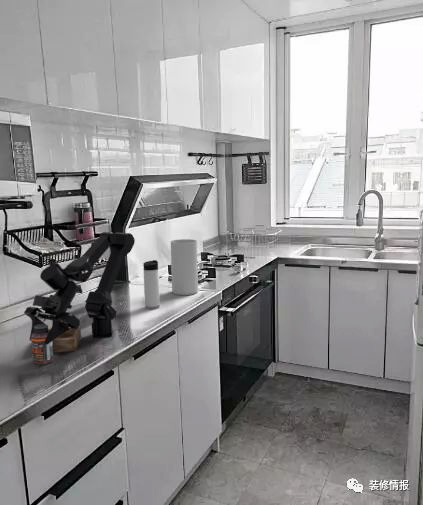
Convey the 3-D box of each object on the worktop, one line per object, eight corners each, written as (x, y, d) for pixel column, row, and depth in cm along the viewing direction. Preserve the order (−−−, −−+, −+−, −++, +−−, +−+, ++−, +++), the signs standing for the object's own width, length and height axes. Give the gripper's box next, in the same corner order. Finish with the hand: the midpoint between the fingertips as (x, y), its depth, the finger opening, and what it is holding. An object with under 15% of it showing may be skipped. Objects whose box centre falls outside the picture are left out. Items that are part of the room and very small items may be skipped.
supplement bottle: (29, 365, 138) (26, 328, 136) (39, 357, 144) (36, 322, 142) (47, 366, 137) (44, 329, 135) (57, 358, 143) (54, 323, 141)
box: (81, 337, 162) (80, 326, 161) (75, 350, 149) (74, 338, 149) (42, 339, 160) (41, 328, 159) (33, 353, 147) (32, 341, 147)
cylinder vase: (175, 289, 230) (173, 239, 226) (200, 289, 228) (199, 239, 224) (169, 295, 218) (167, 242, 214) (195, 295, 216) (194, 243, 212)
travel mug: (163, 306, 199) (161, 260, 196) (153, 310, 194) (151, 263, 191) (151, 304, 203) (149, 259, 199) (142, 308, 197) (140, 262, 194)
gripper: (26, 281, 145) (-1, 325, 137) (70, 287, 136) (44, 334, 128) (47, 299, 153) (23, 342, 145) (90, 306, 144) (67, 351, 136)
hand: (38, 342), depth 138 cm, fingers closed on supplement bottle, 6 cm apart
